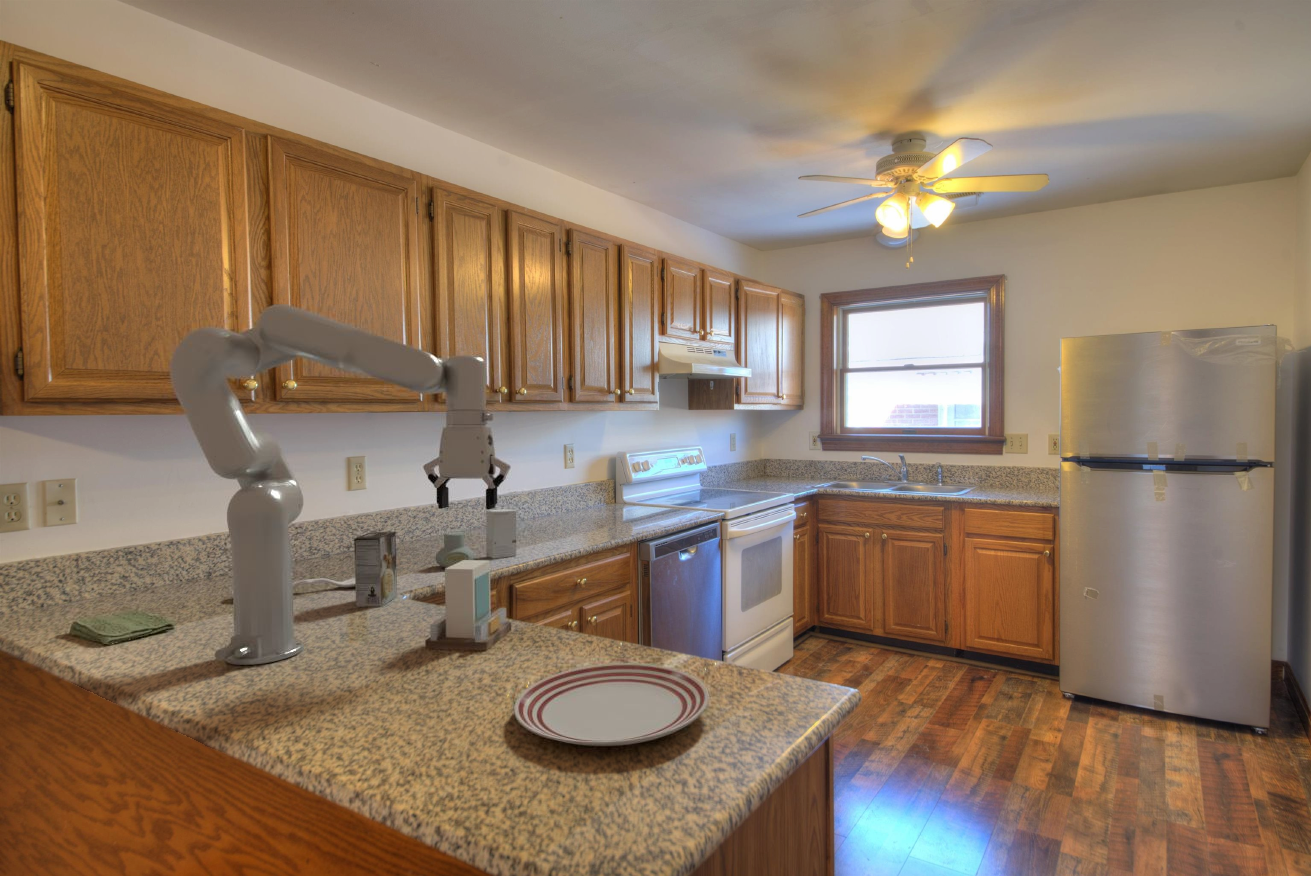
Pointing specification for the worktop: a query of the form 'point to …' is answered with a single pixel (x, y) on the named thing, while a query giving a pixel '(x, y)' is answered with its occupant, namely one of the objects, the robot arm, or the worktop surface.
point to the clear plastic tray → (481, 629)
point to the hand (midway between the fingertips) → (467, 508)
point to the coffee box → (375, 568)
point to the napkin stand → (469, 641)
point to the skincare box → (500, 533)
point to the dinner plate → (611, 704)
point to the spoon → (309, 581)
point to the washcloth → (120, 627)
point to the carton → (466, 597)
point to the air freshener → (453, 550)
